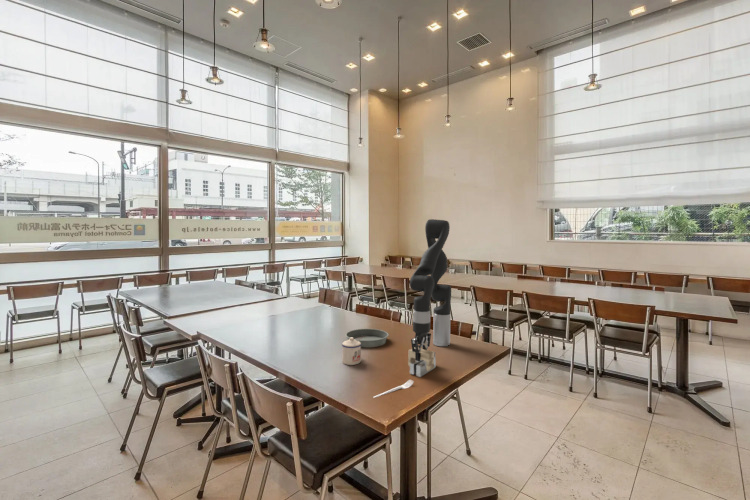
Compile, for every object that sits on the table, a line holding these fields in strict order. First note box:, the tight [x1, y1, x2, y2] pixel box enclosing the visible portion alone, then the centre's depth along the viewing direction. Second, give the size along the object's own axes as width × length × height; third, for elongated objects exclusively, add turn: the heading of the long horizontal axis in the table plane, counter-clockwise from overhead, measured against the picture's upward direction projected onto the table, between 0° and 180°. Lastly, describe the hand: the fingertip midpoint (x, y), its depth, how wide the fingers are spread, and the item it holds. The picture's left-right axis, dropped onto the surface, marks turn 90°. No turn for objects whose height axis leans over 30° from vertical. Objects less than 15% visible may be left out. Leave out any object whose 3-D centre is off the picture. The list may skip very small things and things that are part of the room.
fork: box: [372, 379, 415, 399], centre depth 139 cm, size 3×20×2 cm, turn 128°
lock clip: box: [407, 347, 435, 372], centre depth 157 cm, size 5×10×7 cm, turn 54°
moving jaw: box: [409, 351, 436, 375], centre depth 161 cm, size 17×4×6 cm, turn 141°
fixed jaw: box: [415, 356, 437, 378], centre depth 159 cm, size 14×2×5 cm, turn 143°
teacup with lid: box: [341, 337, 362, 366], centre depth 171 cm, size 12×9×12 cm
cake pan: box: [344, 328, 390, 348], centre depth 203 cm, size 25×25×4 cm
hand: (421, 358), depth 157 cm, fingers closed on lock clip, 5 cm apart
